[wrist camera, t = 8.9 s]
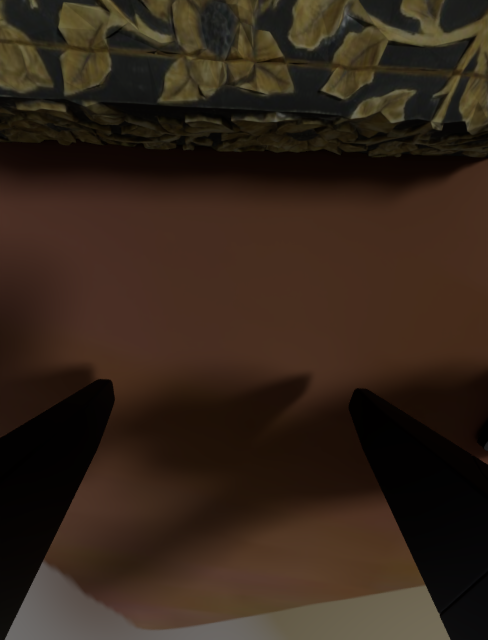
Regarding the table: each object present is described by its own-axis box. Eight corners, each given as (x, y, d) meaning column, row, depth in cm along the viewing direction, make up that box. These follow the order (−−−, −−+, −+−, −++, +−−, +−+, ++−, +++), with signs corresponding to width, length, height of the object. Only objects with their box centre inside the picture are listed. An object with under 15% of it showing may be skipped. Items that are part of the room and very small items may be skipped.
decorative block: (-19, 144, 7) (-229, 94, 4) (-64, 21, 6) (-416, -201, 3) (485, 165, 8) (657, 140, 5) (523, 66, 7) (773, -48, 4)
